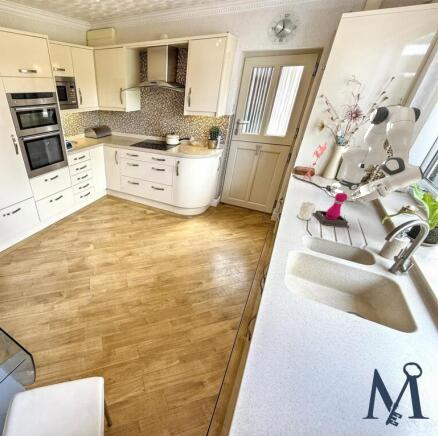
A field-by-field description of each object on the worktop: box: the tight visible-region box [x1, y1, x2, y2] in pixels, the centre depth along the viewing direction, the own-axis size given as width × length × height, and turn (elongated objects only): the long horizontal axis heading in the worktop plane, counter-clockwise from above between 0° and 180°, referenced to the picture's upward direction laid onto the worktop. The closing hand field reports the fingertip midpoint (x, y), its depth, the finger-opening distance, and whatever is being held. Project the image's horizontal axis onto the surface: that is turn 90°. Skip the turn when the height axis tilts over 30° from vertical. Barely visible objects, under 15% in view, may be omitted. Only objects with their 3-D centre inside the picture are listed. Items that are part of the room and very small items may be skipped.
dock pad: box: [311, 209, 350, 228], centre depth 152 cm, size 15×15×4 cm
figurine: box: [302, 141, 328, 182], centre depth 212 cm, size 15×26×35 cm, turn 148°
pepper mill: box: [325, 191, 348, 220], centre depth 147 cm, size 7×7×20 cm
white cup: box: [297, 200, 317, 221], centre depth 152 cm, size 8×8×10 cm
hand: (352, 197), depth 141 cm, fingers open, 8 cm apart
